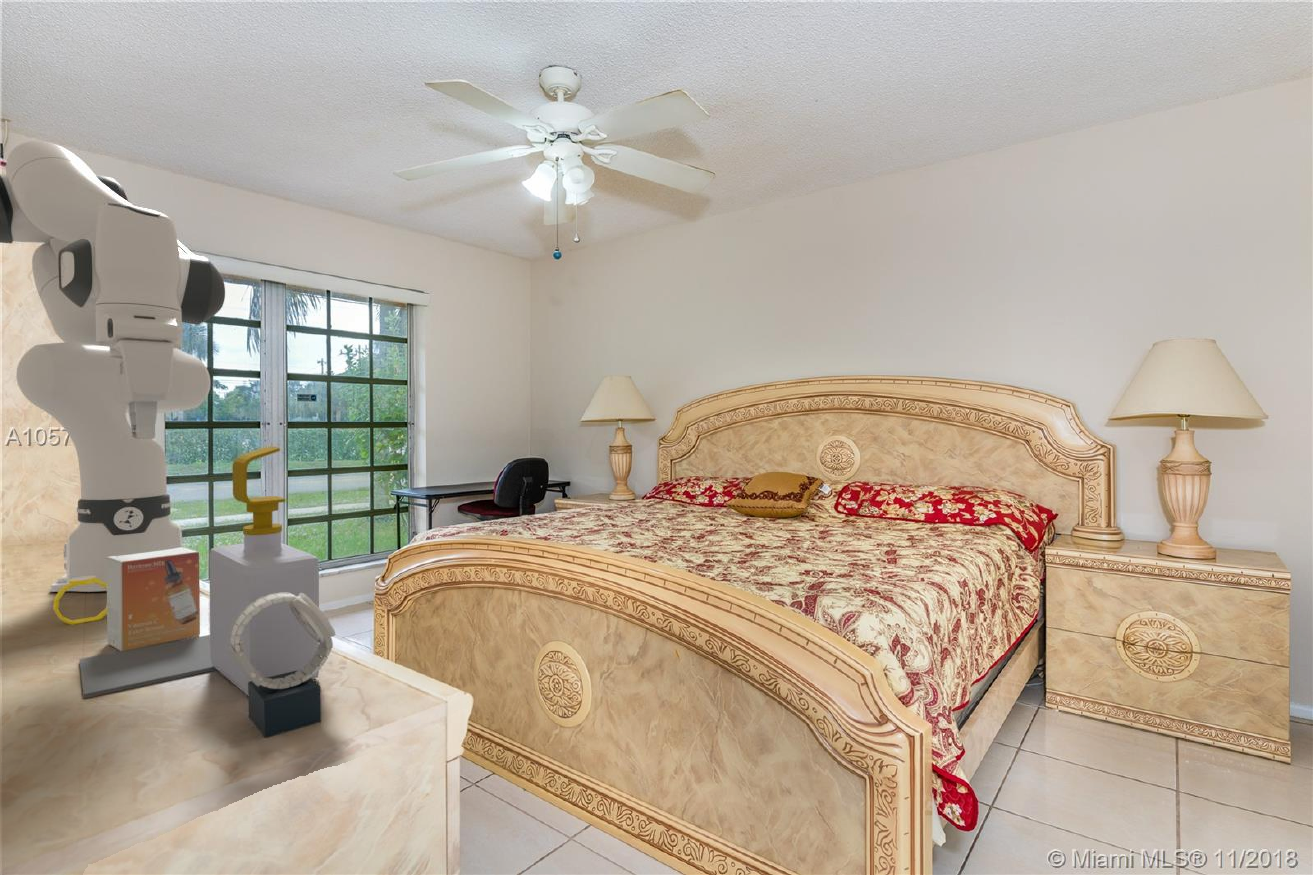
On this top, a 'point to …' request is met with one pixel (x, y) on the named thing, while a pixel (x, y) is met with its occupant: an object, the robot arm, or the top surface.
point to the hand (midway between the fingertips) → (143, 439)
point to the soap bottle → (260, 590)
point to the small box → (152, 598)
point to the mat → (145, 666)
